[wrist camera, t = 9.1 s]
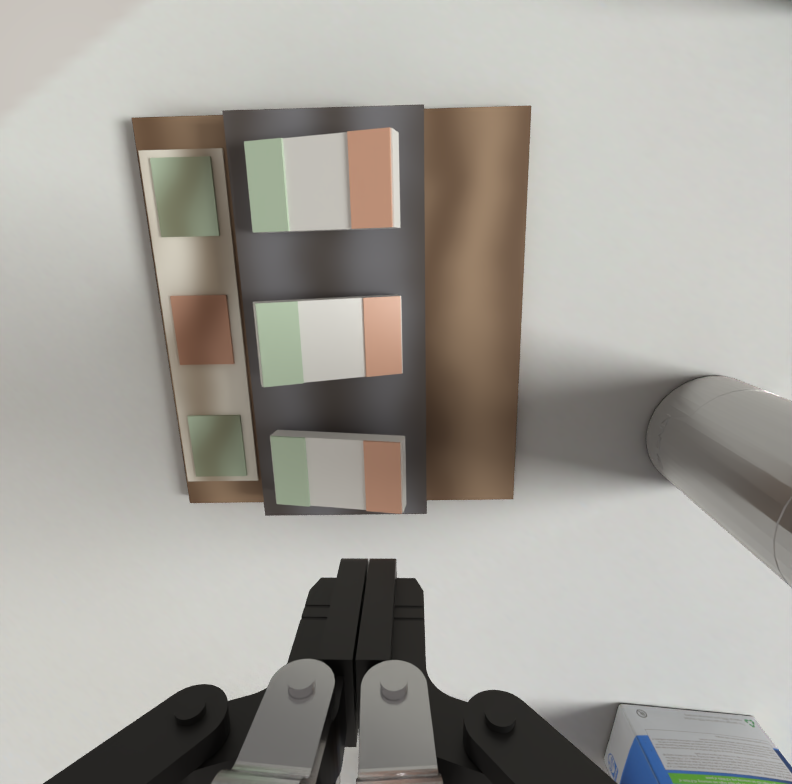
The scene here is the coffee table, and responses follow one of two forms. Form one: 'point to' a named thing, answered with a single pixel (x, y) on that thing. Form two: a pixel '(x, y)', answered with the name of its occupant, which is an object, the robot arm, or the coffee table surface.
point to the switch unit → (345, 277)
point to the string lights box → (691, 748)
